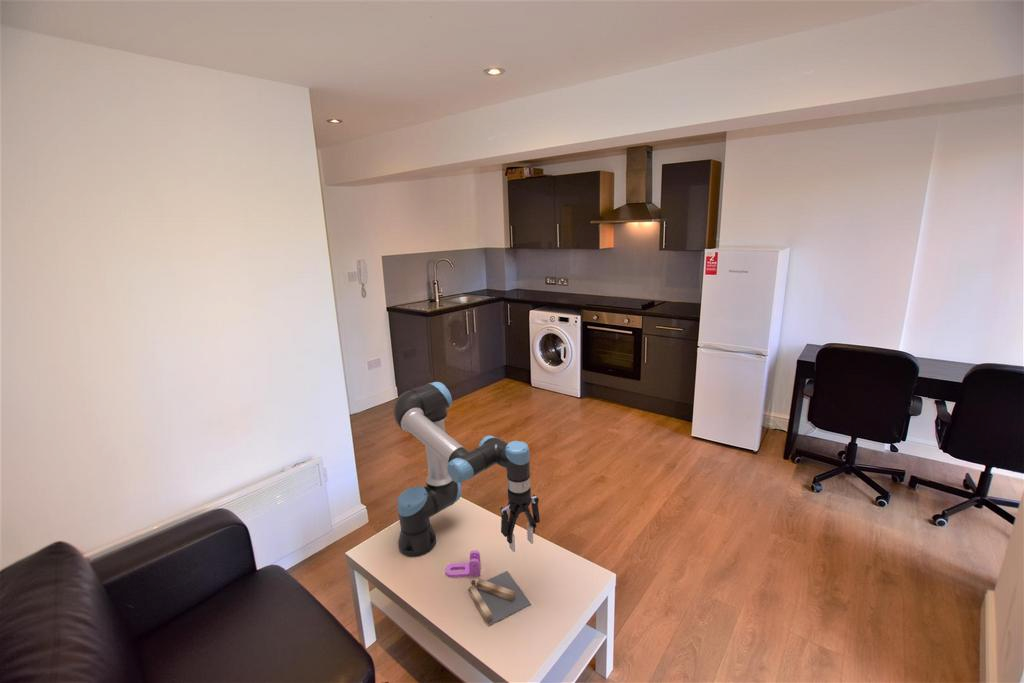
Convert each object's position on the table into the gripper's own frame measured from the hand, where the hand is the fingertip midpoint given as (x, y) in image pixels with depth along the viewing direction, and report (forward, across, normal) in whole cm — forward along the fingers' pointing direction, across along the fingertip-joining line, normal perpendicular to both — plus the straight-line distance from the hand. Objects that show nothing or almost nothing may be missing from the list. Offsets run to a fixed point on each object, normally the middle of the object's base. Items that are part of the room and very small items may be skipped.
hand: (521, 545), depth 156 cm
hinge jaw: (+18, -9, +3) cm, 21 cm away
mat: (+19, -9, +2) cm, 21 cm away
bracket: (+19, -15, +19) cm, 31 cm away
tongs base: (+19, -16, +2) cm, 24 cm away
